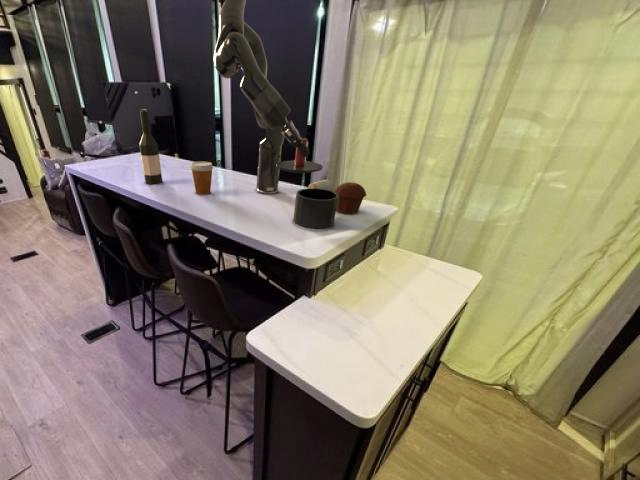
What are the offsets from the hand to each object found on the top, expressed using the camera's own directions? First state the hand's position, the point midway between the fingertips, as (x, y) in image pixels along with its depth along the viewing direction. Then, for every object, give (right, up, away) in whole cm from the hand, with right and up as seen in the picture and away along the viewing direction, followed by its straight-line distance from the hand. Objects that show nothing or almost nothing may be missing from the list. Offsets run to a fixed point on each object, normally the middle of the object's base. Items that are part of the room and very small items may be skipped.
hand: (307, 154), depth 96 cm
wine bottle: (-62, +11, +53) cm, 83 cm away
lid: (-2, -3, +2) cm, 4 cm away
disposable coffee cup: (-37, +2, +40) cm, 55 cm away
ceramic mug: (+13, -4, +33) cm, 36 cm away
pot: (+5, -19, +12) cm, 22 cm away
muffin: (+20, -11, +23) cm, 33 cm away
